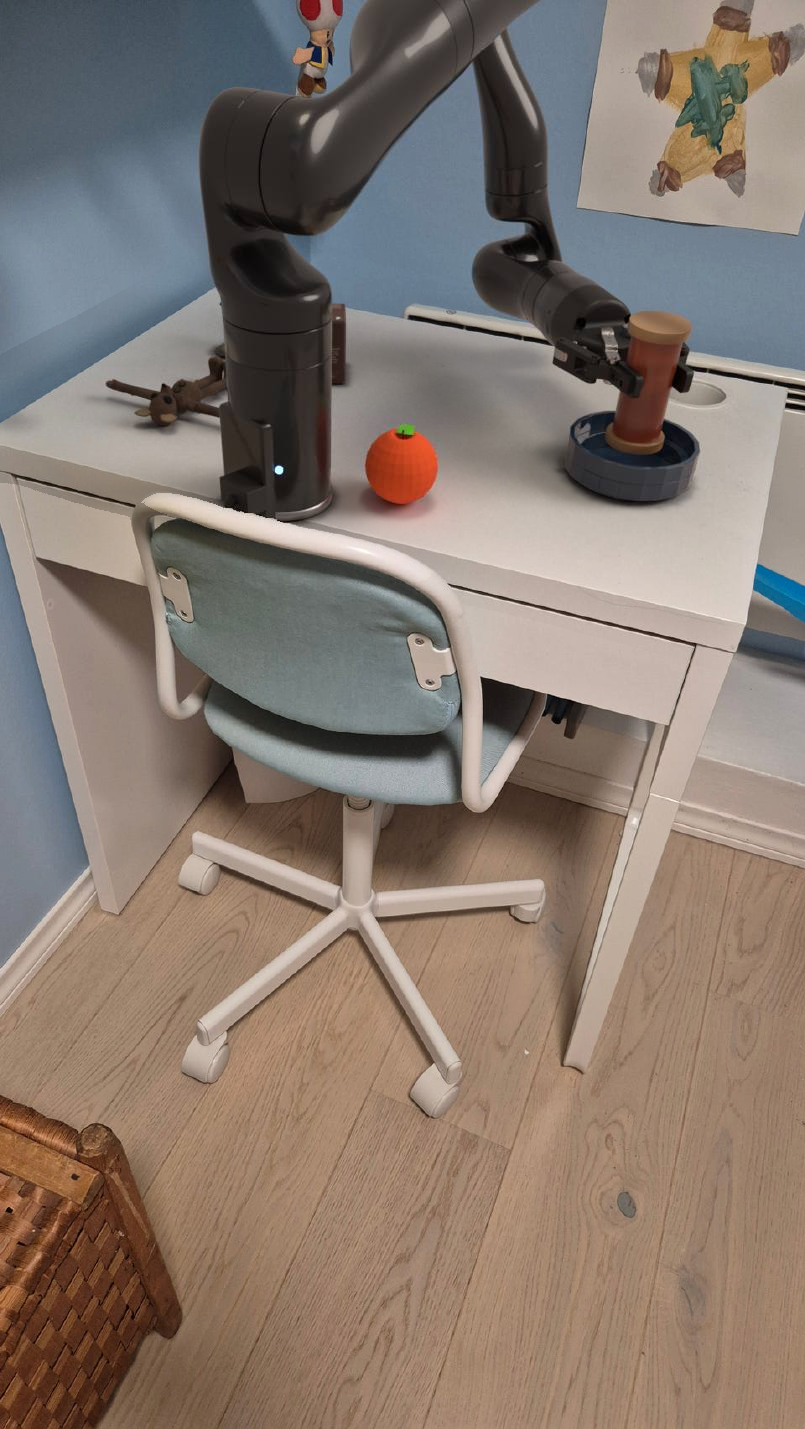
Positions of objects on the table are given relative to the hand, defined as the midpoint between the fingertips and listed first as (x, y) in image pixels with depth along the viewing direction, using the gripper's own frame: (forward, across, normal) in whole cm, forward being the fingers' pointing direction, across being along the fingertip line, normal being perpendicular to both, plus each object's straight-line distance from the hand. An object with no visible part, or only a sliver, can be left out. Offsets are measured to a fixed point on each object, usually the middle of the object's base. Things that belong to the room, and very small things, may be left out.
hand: (663, 385), depth 92 cm
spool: (-3, 0, +7) cm, 7 cm away
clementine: (-4, -24, +11) cm, 27 cm away
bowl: (-2, 0, +11) cm, 11 cm away
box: (-34, -24, +11) cm, 43 cm away
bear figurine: (-28, -40, +11) cm, 50 cm away
